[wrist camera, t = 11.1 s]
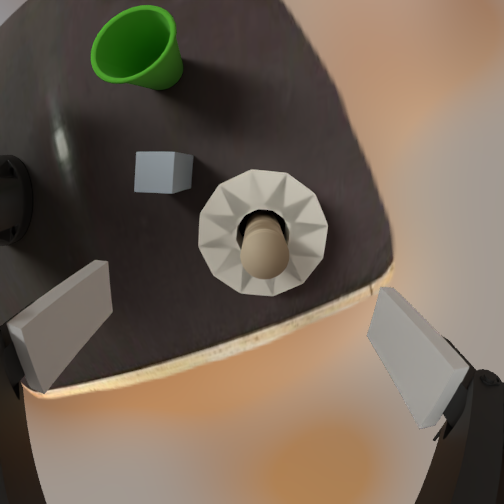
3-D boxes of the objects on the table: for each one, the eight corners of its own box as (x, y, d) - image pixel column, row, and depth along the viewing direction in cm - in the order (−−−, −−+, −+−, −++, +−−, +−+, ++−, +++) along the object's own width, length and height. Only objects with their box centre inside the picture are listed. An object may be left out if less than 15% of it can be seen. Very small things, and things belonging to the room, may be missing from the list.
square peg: (160, 186, 34) (134, 192, 26) (162, 154, 33) (136, 151, 25) (191, 188, 34) (172, 193, 26) (193, 155, 33) (174, 151, 25)
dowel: (244, 241, 36) (238, 277, 24) (247, 209, 35) (242, 230, 23) (277, 244, 36) (286, 281, 24) (280, 212, 35) (292, 234, 23)
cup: (206, 90, 31) (184, 60, 20) (138, 115, 32) (94, 98, 21) (191, 34, 28) (168, -8, 18) (127, 58, 29) (86, 29, 19)
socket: (204, 273, 37) (196, 288, 32) (210, 166, 33) (203, 166, 29) (309, 283, 37) (315, 299, 32) (323, 177, 33) (333, 179, 29)
